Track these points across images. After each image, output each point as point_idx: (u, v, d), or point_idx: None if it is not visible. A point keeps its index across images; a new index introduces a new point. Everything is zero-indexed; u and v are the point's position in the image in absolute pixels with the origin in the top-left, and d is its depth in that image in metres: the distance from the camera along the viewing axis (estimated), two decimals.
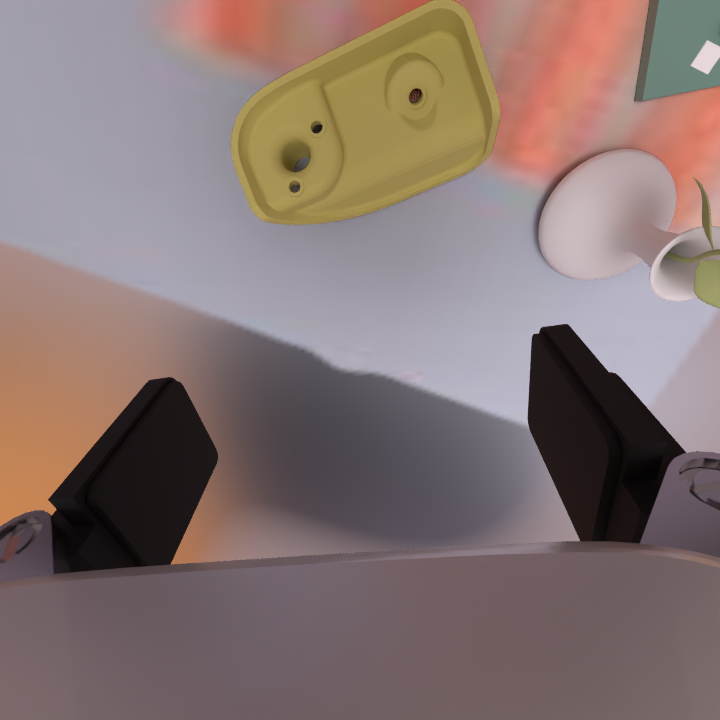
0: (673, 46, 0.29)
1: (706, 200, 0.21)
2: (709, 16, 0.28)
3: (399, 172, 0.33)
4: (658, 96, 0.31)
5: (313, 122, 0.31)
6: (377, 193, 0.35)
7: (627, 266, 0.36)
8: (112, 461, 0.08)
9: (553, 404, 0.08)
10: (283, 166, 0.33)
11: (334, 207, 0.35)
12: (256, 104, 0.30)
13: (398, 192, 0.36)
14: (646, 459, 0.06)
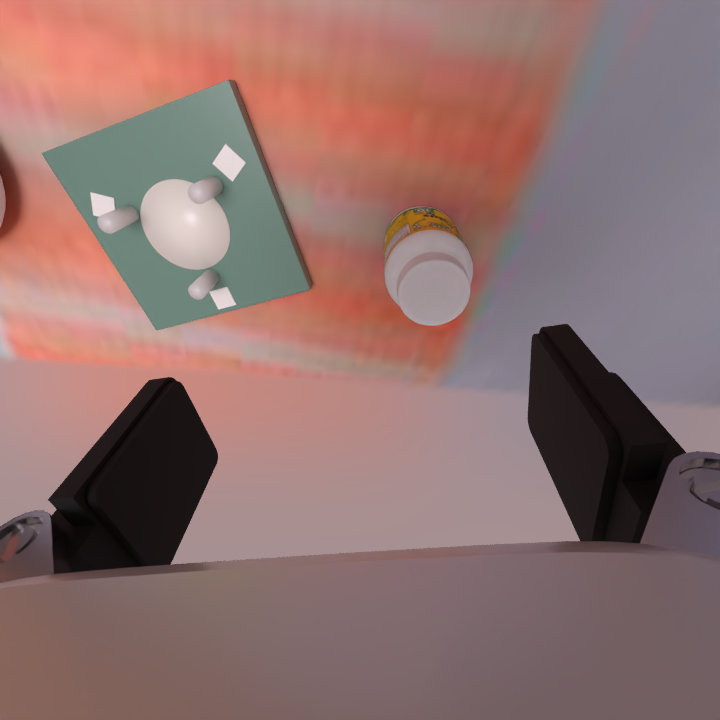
0: (95, 163, 0.27)
1: None
2: (130, 189, 0.28)
3: None
4: (53, 170, 0.27)
5: None
6: None
7: None
8: (112, 461, 0.08)
9: (553, 404, 0.08)
10: None
11: None
12: None
13: None
14: (646, 459, 0.06)
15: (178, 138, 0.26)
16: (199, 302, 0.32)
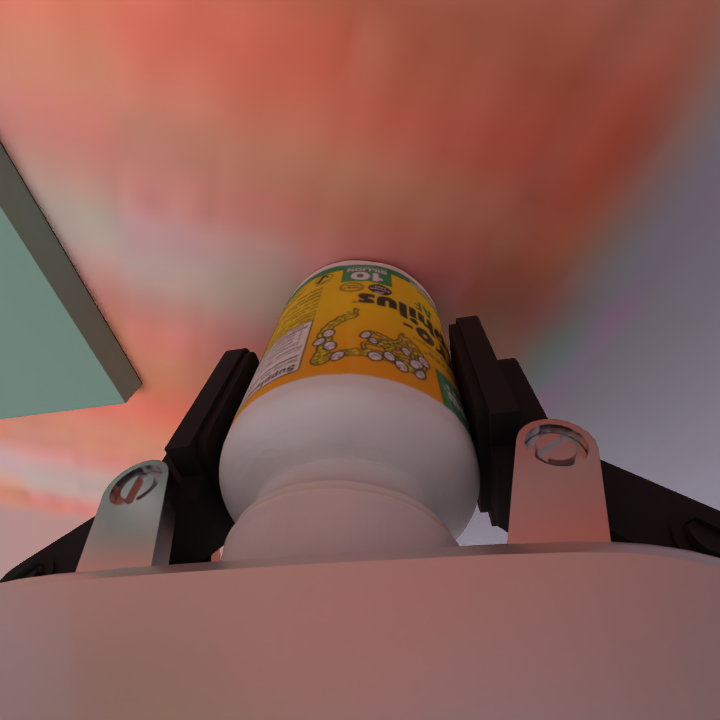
0: None
1: None
2: None
3: None
4: None
5: None
6: None
7: None
8: (213, 418, 0.09)
9: (460, 386, 0.10)
10: None
11: None
12: None
13: None
14: (506, 426, 0.07)
15: None
16: None
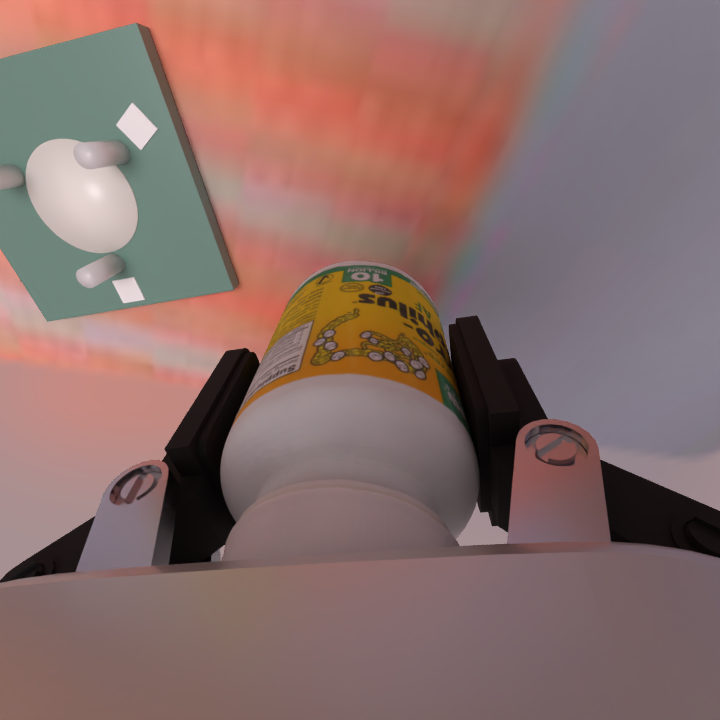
0: None
1: None
2: (12, 146, 0.22)
3: None
4: None
5: None
6: None
7: None
8: (213, 418, 0.09)
9: (460, 386, 0.10)
10: None
11: None
12: None
13: None
14: (506, 426, 0.07)
15: (73, 88, 0.21)
16: (100, 292, 0.27)
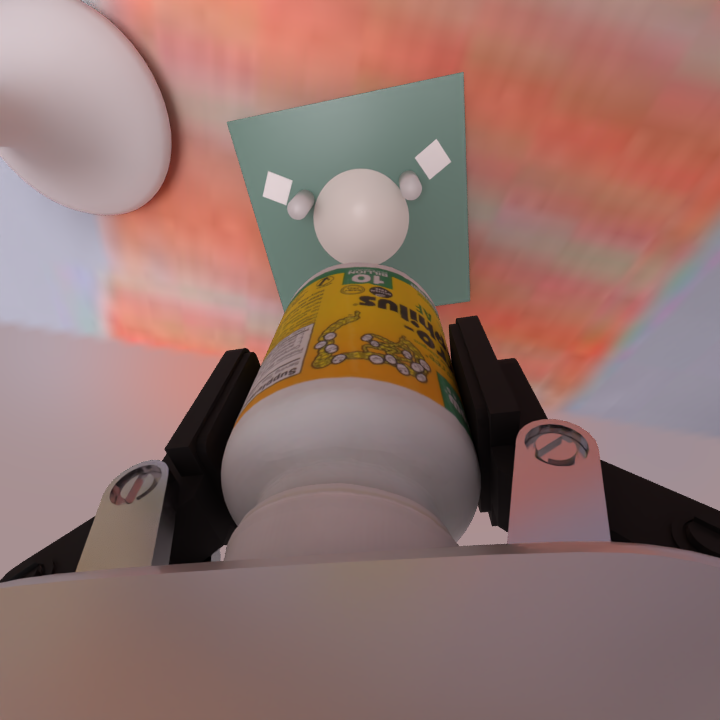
0: (284, 141, 0.24)
1: None
2: (313, 174, 0.25)
3: None
4: (234, 143, 0.24)
5: None
6: None
7: (8, 162, 0.23)
8: (213, 418, 0.09)
9: (460, 386, 0.10)
10: None
11: None
12: None
13: None
14: (506, 426, 0.07)
15: (386, 126, 0.24)
16: None
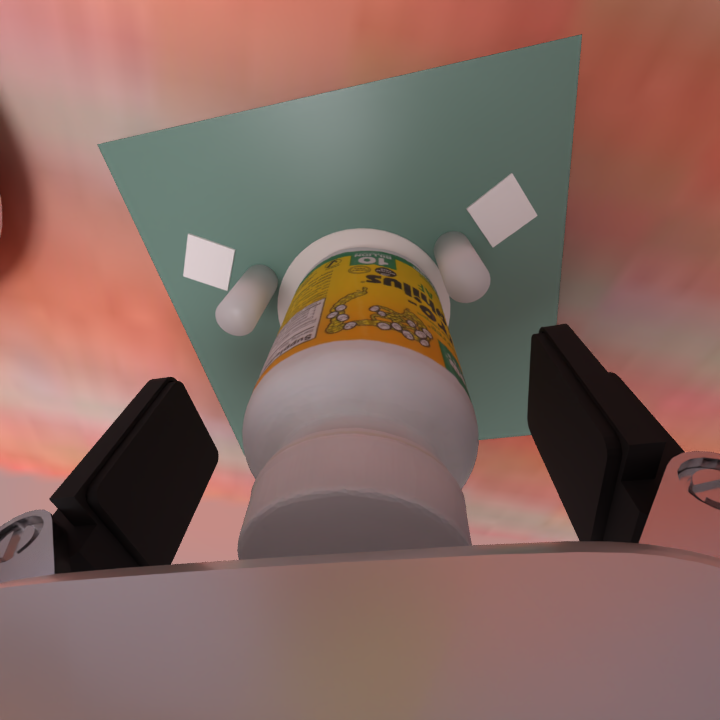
0: (213, 179, 0.13)
1: None
2: (272, 238, 0.13)
3: None
4: (118, 183, 0.13)
5: None
6: None
7: None
8: (113, 461, 0.08)
9: (552, 404, 0.08)
10: None
11: None
12: None
13: None
14: (645, 458, 0.06)
15: (412, 150, 0.12)
16: None
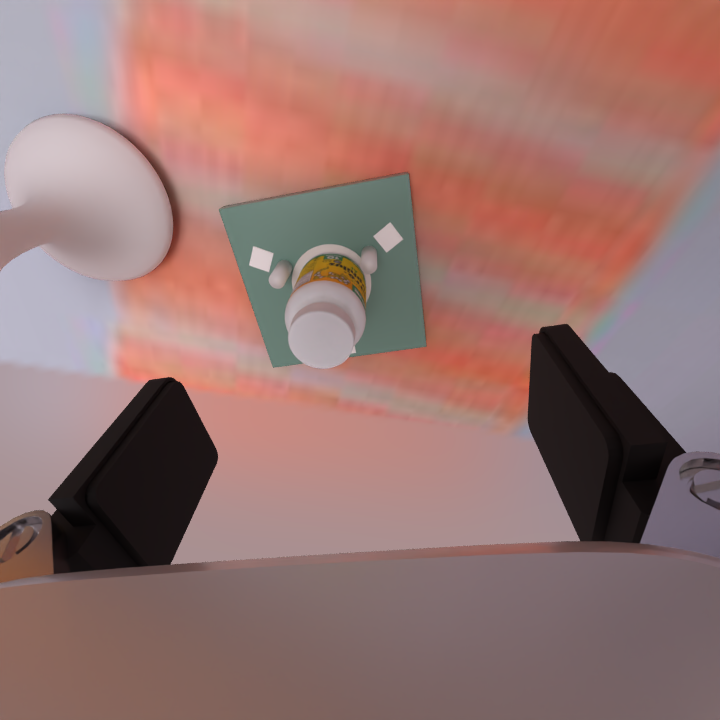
0: (266, 223, 0.30)
1: None
2: (290, 248, 0.31)
3: None
4: (225, 224, 0.30)
5: None
6: None
7: None
8: (112, 461, 0.08)
9: (553, 404, 0.08)
10: None
11: None
12: None
13: None
14: (646, 459, 0.06)
15: (349, 212, 0.29)
16: None
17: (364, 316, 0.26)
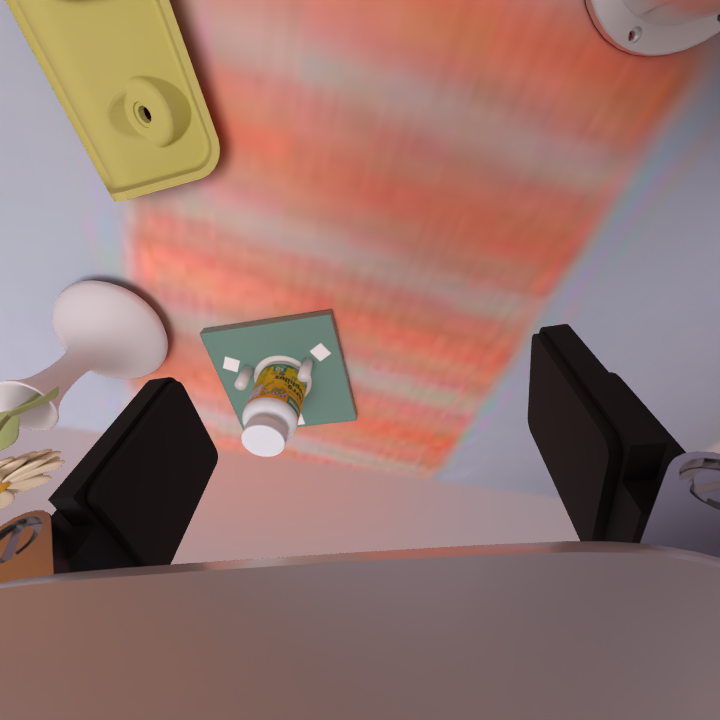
0: (233, 342, 0.42)
1: (35, 400, 0.27)
2: (251, 357, 0.43)
3: (61, 81, 0.28)
4: (204, 343, 0.42)
5: None
6: (40, 45, 0.28)
7: None
8: (112, 461, 0.08)
9: (553, 404, 0.08)
10: None
11: None
12: None
13: (55, 78, 0.30)
14: (646, 459, 0.06)
15: (291, 336, 0.41)
16: None
17: (296, 419, 0.38)
